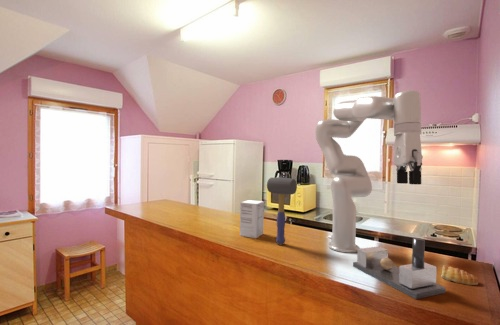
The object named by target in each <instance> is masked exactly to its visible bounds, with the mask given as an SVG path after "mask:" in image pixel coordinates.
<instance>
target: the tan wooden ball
mask: <svg viewBox="0 0 500 325" xmlns="http://www.w3.org/2000/svg"><path fill="white" fill-rule="evenodd" d="M380 265H381V267H382V268H383V269H384V270H391V269H392V268H393V266H395V265H394V262H393V260H392V259H391V258H389V257H388V258H383V259H381V261H380Z"/></svg>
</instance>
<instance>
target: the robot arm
mask: <svg viewBox="0 0 500 325" xmlns="http://www.w3.org/2000/svg"><path fill="white" fill-rule="evenodd" d="M421 98H422V97H421V93H420V92H419V91H418V90H411V89H409V90H404V91H399V92H398V93H396V94H394V97H385V96H377V95H375V96H374V95H373V96H365V97H359V98H357V99H354V100H345V101H340V102H339V103H337V104H336V105H335V106H334V108H333V113H332V114H333V116H334V117H335V118H336V119H332V118H328V119H322V120H320V121H318V122H317V124H316V126H315V139H316V143H317V144H318V146H319V148H320V150H321V152H322V154H323V157H324V161H325V163H326V166H327V169H328V171H329V173H330V174H331V175H332V176H335V177H334V178H333V179H332V180H331V183H330V189H331V196H332V233H331V234H330V235H328V238H329V239H330V242H328V248H329V249H331V250H333V251H337V252H341V253H350V254H351V253H357V251H358V249H360V246H359V245H357V244H356V233H357V231H356V230H357V229H356V227H357V208H356V204H355V202H354V200H353V198H366V197H368V196H369V195H371V193H372V191H373V190H372V189H373V185H372V181H371V178H370V176H369V174H368V171H367V169H366V167H365V163H364V162H363V161H362V159H361V158H360V157H359V156H356V155H347V154H344V152H343V150H342V147H341V145H340V144H339V143H338V141H336V140H335V139H334V138H338V139H339V138H341V139H347V138H350V137H351V136H352V135H354V134H355V132H356V131H357V130H358V129H359V128H360V126H361V125H362V124H363V122H364V121H366V120H367V119H371V120H373V119H374V120H385V121H387V120H388V121H393V129H394V130H393V133H394V134H393V136H394V137H395V138H394V147H393V165H394V166H396V169H395V170H396V183H397V184H409V185H422V170H423V168H422V166H423V157H424V156H423V155H422V142H421V141H422V140H421V135H422V110H421V109H422V103H421V102H422V101H421ZM408 169H409V171H407V170H408Z"/></svg>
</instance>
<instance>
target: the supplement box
mask: <svg viewBox="0 0 500 325" xmlns="http://www.w3.org/2000/svg"><path fill="white" fill-rule="evenodd" d="M239 203H240V206H239V208H240V209H239V236H240V237H246V238H252V239H257V238H259V237H260V236H262V235H263V234H264V220H265V218H264V213H265V209H264V208H265V206H264V205H265V202H264V201H263V200H253V199H252V200H251V199H248V200H244V201H240V202H239Z"/></svg>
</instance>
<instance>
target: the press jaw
mask: <svg viewBox="0 0 500 325" xmlns="http://www.w3.org/2000/svg"><path fill="white" fill-rule="evenodd" d="M425 244H426V242H425V239H424V238H421V237H412V249H411V250H412V253H411V255H412V256H411V257H412V258H411V263H408V264H404V265H403V264H402V265H399V268H400V273H399V283H401V284H403V285H405V286H407V287H409V288H411V289H413V288H418V287H423V286H428V285H433V284H437V270H438V269H437V266H436V265H433V264H430V263H427V262H425V249H426V248H425Z"/></svg>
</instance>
